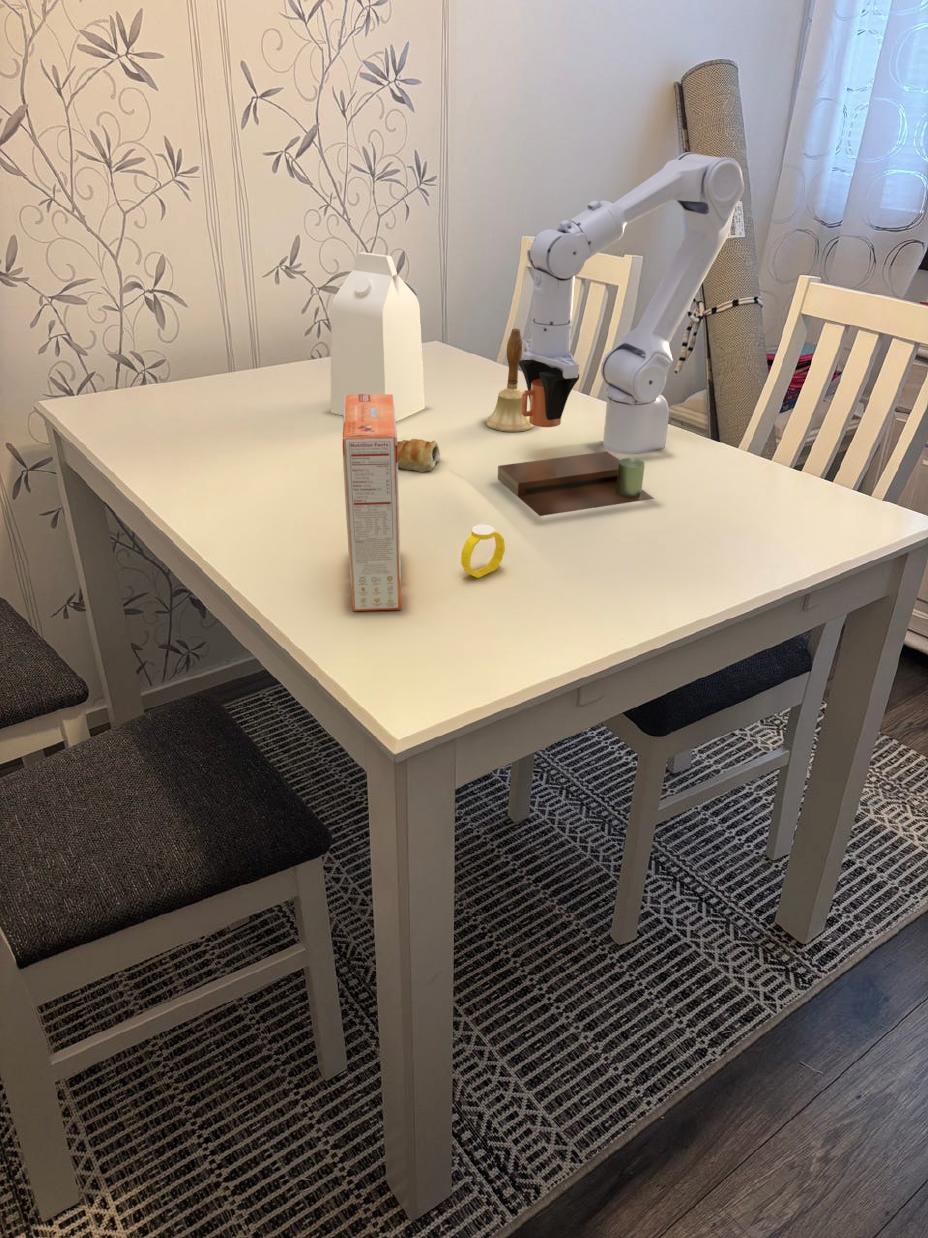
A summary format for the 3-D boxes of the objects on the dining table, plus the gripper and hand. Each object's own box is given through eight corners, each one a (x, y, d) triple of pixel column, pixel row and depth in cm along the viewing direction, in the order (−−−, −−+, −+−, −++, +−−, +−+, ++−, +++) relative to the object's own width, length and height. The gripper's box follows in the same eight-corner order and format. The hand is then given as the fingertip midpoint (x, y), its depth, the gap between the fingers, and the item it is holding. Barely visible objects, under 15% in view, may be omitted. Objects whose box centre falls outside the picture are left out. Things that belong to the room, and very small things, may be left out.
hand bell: (536, 418, 168) (542, 324, 160) (531, 434, 161) (537, 337, 153) (489, 414, 170) (493, 321, 162) (482, 430, 163) (485, 333, 155)
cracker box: (350, 557, 121) (343, 392, 110) (399, 556, 121) (396, 391, 111) (348, 613, 109) (340, 434, 98) (402, 612, 109) (399, 433, 99)
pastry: (371, 467, 147) (371, 443, 145) (384, 452, 153) (384, 429, 151) (432, 473, 145) (432, 449, 143) (442, 458, 151) (442, 434, 149)
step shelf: (605, 469, 148) (606, 451, 147) (653, 504, 137) (656, 484, 135) (497, 484, 142) (497, 465, 141) (539, 522, 131) (540, 502, 129)
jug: (555, 415, 149) (558, 376, 146) (569, 425, 145) (573, 385, 142) (514, 419, 147) (516, 380, 144) (527, 430, 143) (530, 390, 140)
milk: (425, 408, 172) (425, 253, 159) (386, 425, 163) (382, 264, 150) (370, 396, 177) (366, 245, 164) (330, 412, 169) (322, 255, 156)
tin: (632, 486, 140) (636, 456, 138) (646, 495, 137) (649, 465, 135) (611, 489, 139) (614, 459, 137) (623, 498, 136) (627, 468, 134)
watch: (492, 562, 120) (494, 518, 117) (508, 570, 119) (510, 525, 116) (456, 576, 117) (457, 531, 114) (471, 585, 115) (473, 539, 112)
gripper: (505, 311, 143) (501, 401, 150) (549, 334, 132) (543, 431, 138) (548, 308, 146) (542, 396, 152) (595, 331, 134) (586, 425, 141)
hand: (545, 412), depth 146 cm, fingers closed on jug, 5 cm apart
